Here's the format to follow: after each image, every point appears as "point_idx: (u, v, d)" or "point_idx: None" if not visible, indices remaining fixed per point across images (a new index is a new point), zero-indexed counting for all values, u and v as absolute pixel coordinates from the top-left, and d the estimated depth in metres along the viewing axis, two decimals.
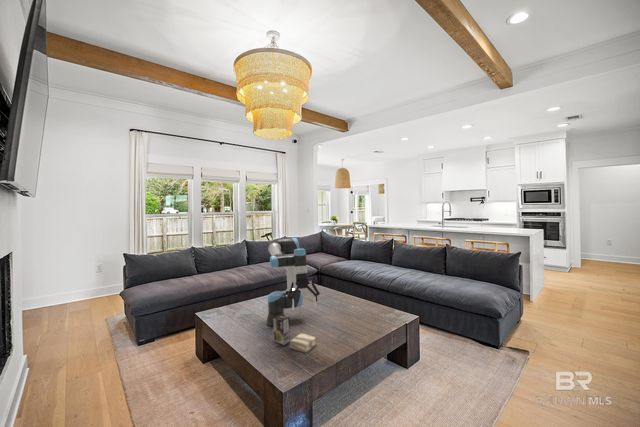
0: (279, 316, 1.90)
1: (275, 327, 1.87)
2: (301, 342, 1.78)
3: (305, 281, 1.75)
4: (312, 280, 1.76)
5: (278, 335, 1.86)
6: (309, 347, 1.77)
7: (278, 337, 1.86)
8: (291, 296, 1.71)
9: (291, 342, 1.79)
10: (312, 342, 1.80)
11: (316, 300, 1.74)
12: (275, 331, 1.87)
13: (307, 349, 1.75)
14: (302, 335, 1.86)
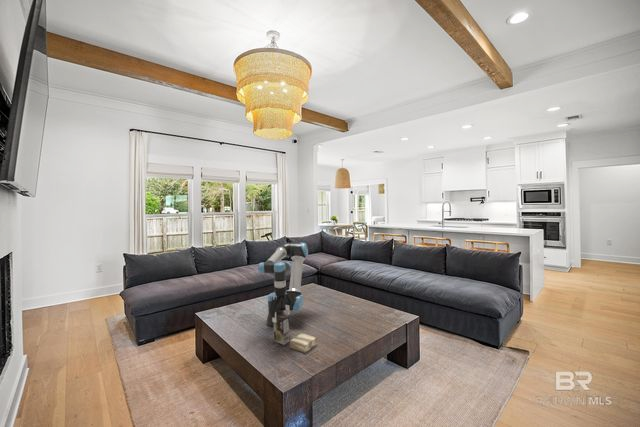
0: (279, 316, 1.90)
1: (275, 327, 1.87)
2: (301, 342, 1.78)
3: (283, 293, 1.88)
4: (287, 291, 1.92)
5: (278, 335, 1.86)
6: (309, 347, 1.77)
7: (278, 337, 1.86)
8: (274, 310, 1.80)
9: (291, 342, 1.80)
10: (312, 342, 1.80)
11: (289, 308, 1.94)
12: (275, 331, 1.87)
13: (306, 349, 1.75)
14: (302, 335, 1.87)
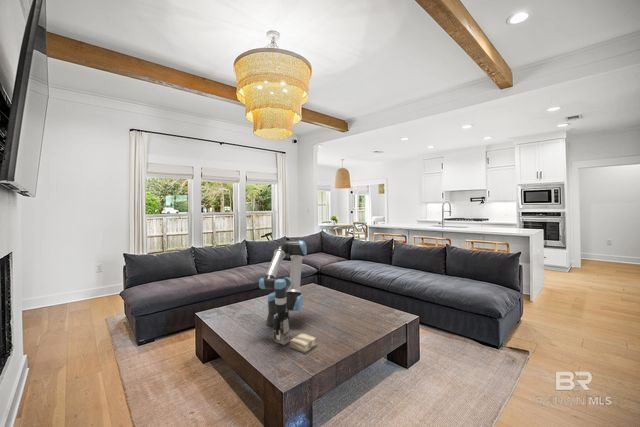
0: None
1: None
2: (301, 342, 1.78)
3: None
4: (288, 309, 1.93)
5: None
6: (308, 347, 1.77)
7: None
8: (278, 328, 1.84)
9: (291, 341, 1.80)
10: (312, 342, 1.80)
11: None
12: (275, 331, 1.87)
13: (306, 349, 1.75)
14: (303, 335, 1.87)
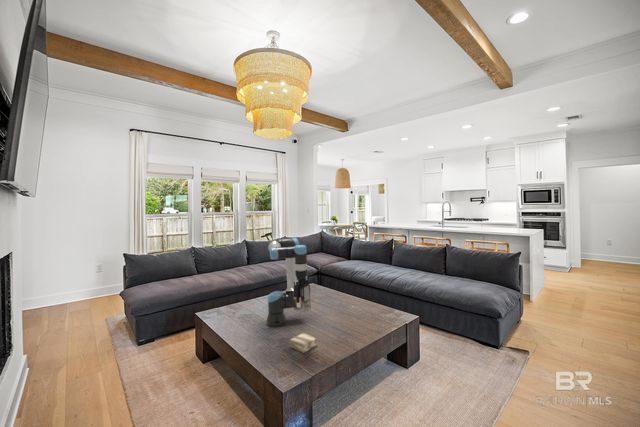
0: None
1: None
2: (300, 342, 1.78)
3: (304, 276, 1.81)
4: (308, 277, 1.84)
5: None
6: (308, 348, 1.77)
7: None
8: (299, 295, 1.76)
9: (291, 341, 1.81)
10: (311, 343, 1.79)
11: None
12: (295, 299, 1.79)
13: (305, 349, 1.75)
14: (303, 335, 1.87)
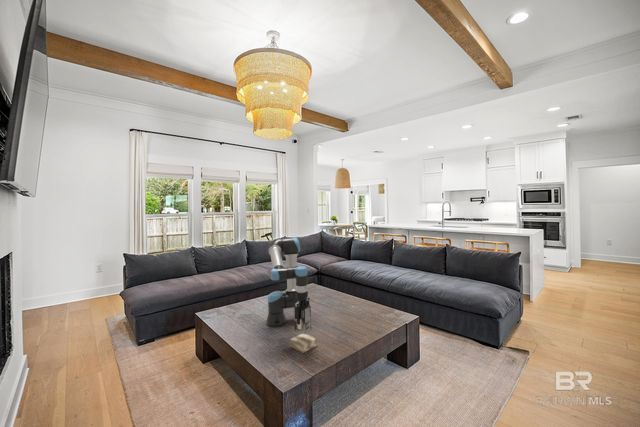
0: None
1: None
2: (300, 342, 1.78)
3: (305, 297, 1.82)
4: (309, 298, 1.85)
5: None
6: (307, 348, 1.76)
7: None
8: (299, 317, 1.76)
9: (291, 341, 1.81)
10: (311, 343, 1.79)
11: None
12: (296, 320, 1.80)
13: (304, 349, 1.75)
14: (304, 335, 1.87)
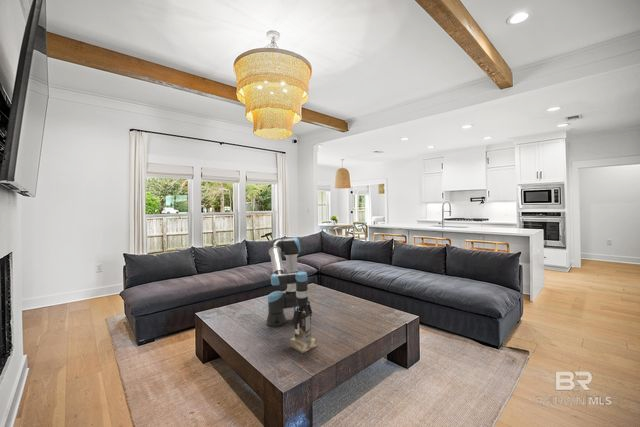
0: None
1: None
2: (300, 342, 1.78)
3: (305, 303, 1.82)
4: (309, 301, 1.85)
5: (299, 332, 1.79)
6: (307, 348, 1.76)
7: (299, 334, 1.79)
8: (297, 321, 1.74)
9: (291, 341, 1.81)
10: (311, 343, 1.79)
11: None
12: None
13: (304, 350, 1.75)
14: None
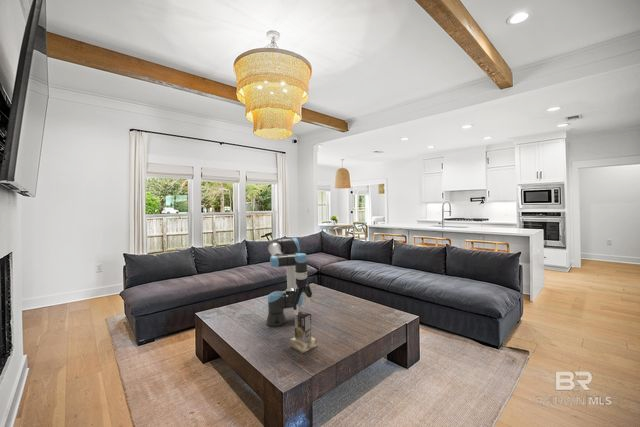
0: (300, 312, 1.84)
1: (296, 324, 1.81)
2: (300, 342, 1.78)
3: (304, 285, 1.81)
4: (308, 283, 1.85)
5: (299, 332, 1.80)
6: (307, 348, 1.76)
7: (299, 334, 1.80)
8: (296, 302, 1.74)
9: (291, 341, 1.81)
10: (311, 343, 1.79)
11: (309, 300, 1.87)
12: (296, 328, 1.81)
13: (304, 350, 1.75)
14: None
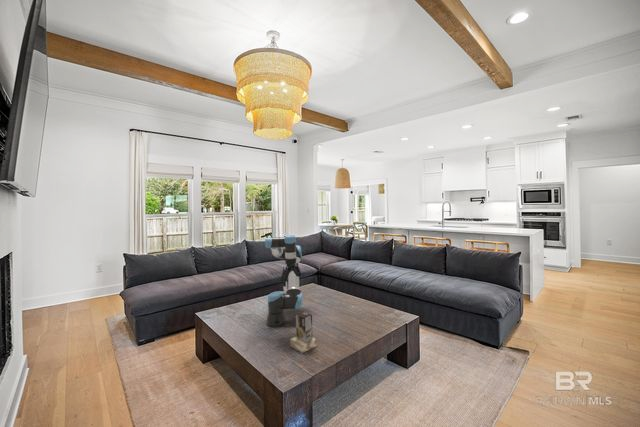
0: (302, 312, 1.84)
1: (297, 324, 1.81)
2: (300, 342, 1.78)
3: (293, 264, 1.97)
4: (297, 263, 2.01)
5: (300, 332, 1.80)
6: (306, 348, 1.76)
7: (300, 334, 1.80)
8: (285, 279, 1.90)
9: (291, 340, 1.82)
10: (311, 343, 1.79)
11: (298, 279, 2.03)
12: (297, 328, 1.81)
13: (304, 350, 1.75)
14: None
